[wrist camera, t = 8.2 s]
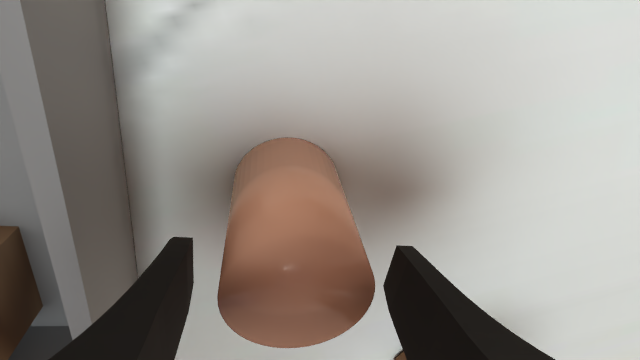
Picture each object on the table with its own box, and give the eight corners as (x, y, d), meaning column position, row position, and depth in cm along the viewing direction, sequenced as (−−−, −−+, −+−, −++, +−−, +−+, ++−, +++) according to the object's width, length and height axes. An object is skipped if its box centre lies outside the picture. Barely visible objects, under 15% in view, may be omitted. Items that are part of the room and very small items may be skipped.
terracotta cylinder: (328, 228, 19) (357, 346, 13) (231, 224, 18) (216, 349, 12) (346, 142, 17) (391, 239, 11) (236, 132, 16) (219, 232, 10)
